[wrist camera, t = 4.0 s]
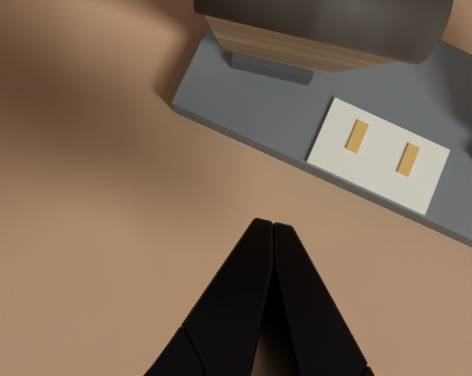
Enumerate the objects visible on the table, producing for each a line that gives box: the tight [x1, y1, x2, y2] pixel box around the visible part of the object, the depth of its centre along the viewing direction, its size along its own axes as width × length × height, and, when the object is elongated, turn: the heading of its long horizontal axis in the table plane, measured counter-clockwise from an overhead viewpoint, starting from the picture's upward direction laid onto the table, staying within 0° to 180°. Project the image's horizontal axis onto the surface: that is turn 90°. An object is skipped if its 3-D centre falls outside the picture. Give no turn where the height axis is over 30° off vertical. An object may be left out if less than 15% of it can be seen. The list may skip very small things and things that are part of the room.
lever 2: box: [194, 0, 453, 74], centre depth 14 cm, size 2×5×11 cm, turn 78°
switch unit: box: [171, 26, 472, 247], centre depth 21 cm, size 9×21×2 cm, turn 66°
